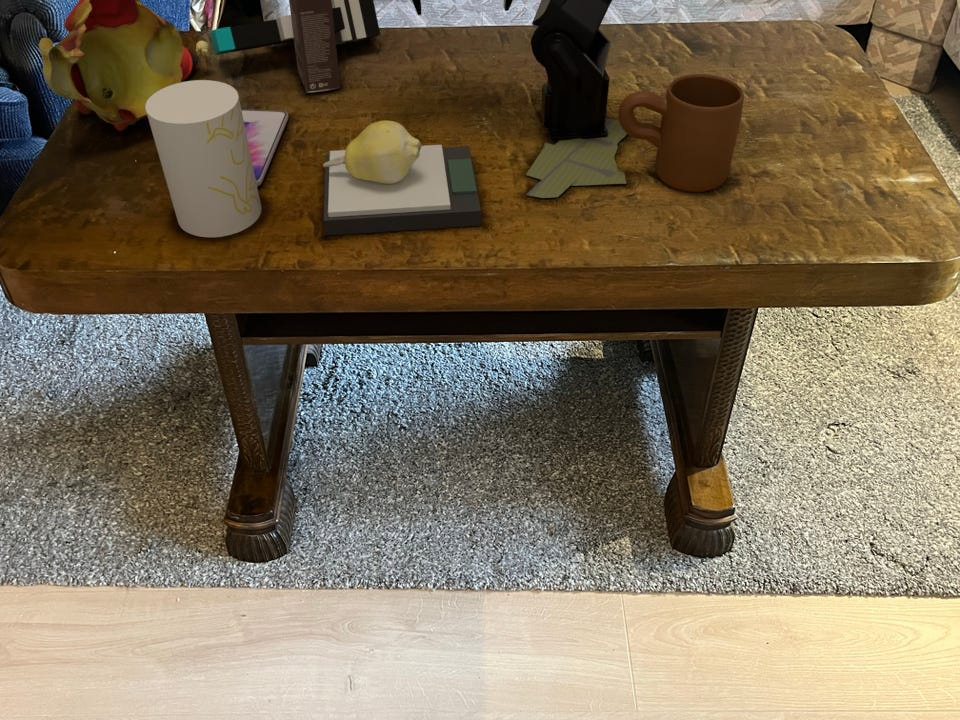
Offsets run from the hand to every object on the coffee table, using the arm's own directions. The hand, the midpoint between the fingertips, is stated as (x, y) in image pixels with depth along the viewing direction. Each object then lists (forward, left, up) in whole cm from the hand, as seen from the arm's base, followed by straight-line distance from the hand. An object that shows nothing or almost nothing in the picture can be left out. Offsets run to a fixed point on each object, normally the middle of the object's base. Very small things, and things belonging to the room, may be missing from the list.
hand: (462, 11), depth 94 cm
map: (-12, +11, -12) cm, 20 cm away
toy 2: (+29, -14, -8) cm, 34 cm away
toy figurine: (+34, -12, -12) cm, 38 cm away
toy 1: (+33, +1, -7) cm, 34 cm away
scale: (+8, +16, -12) cm, 21 cm away
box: (+17, -10, -12) cm, 23 cm away
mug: (-20, +15, -12) cm, 28 cm away
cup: (+26, +17, -12) cm, 33 cm away
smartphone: (+25, +5, -12) cm, 28 cm away
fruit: (+10, +16, -10) cm, 21 cm away
